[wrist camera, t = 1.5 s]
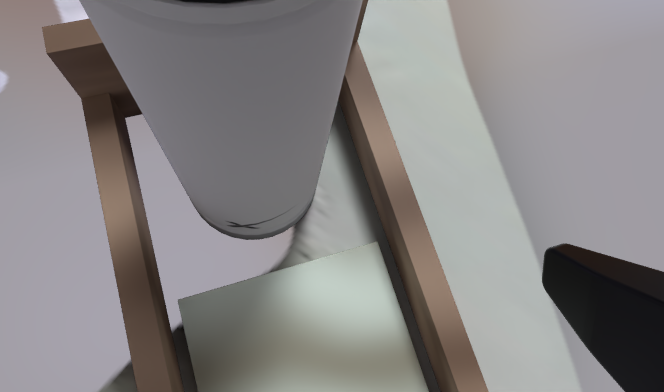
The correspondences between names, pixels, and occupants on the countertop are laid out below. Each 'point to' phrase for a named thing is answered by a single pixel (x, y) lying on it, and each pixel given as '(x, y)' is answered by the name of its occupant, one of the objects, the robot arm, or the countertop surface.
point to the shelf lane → (280, 286)
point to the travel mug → (235, 97)
